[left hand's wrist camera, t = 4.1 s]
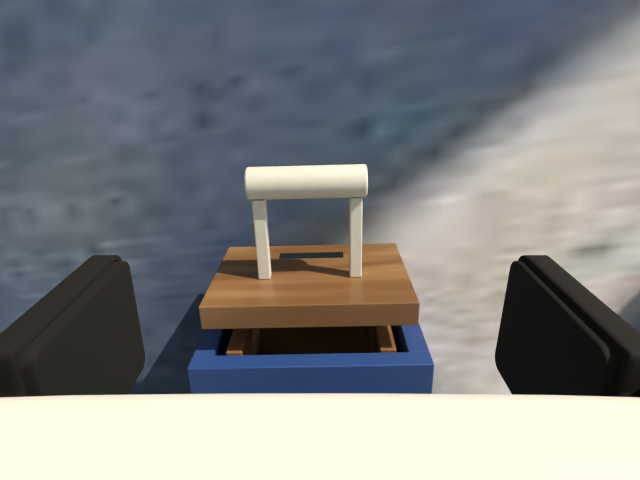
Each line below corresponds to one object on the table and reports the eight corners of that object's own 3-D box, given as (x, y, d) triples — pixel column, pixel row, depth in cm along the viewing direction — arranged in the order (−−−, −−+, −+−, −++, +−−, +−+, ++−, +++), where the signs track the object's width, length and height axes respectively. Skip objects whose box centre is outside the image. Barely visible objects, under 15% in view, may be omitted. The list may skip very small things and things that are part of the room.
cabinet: (226, 278, 29) (186, 368, 20) (401, 274, 28) (434, 364, 20) (248, 469, 35) (225, 599, 26) (392, 467, 34) (415, 598, 26)
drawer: (218, 152, 25) (180, 184, 18) (399, 147, 24) (427, 178, 18) (250, 441, 32) (231, 538, 26) (388, 439, 32) (404, 536, 26)
